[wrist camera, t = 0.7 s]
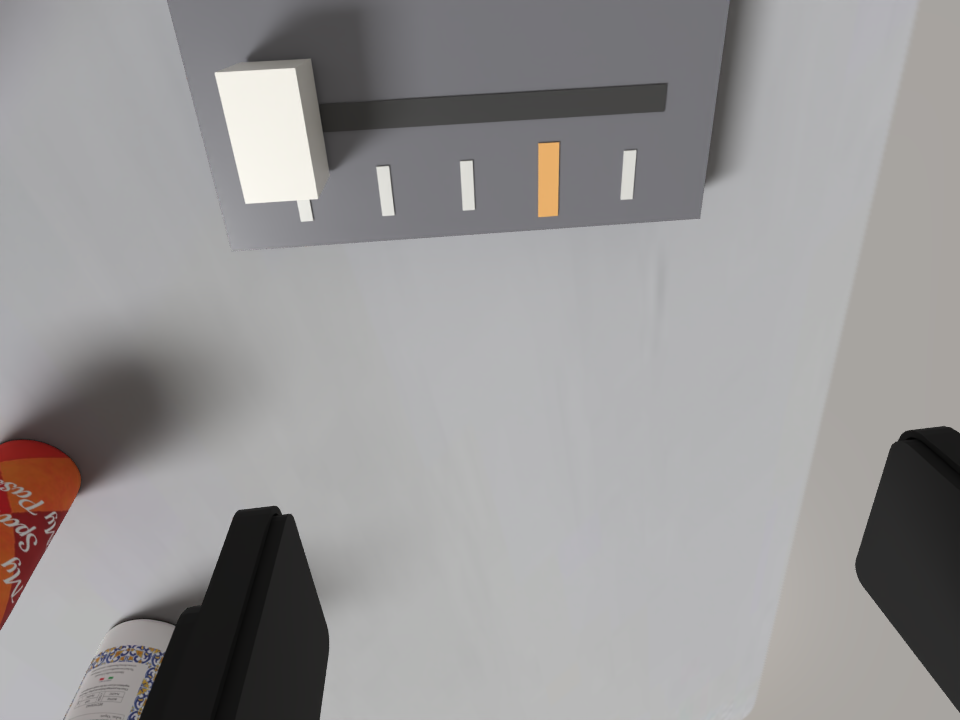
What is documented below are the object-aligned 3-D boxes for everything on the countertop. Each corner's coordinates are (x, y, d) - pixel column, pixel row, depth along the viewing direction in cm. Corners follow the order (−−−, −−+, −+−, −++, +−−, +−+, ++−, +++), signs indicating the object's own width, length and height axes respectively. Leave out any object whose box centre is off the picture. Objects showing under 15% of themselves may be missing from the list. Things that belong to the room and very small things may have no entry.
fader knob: (240, 62, 27) (214, 72, 24) (310, 58, 27) (295, 68, 24) (265, 179, 30) (245, 203, 26) (329, 175, 30) (318, 199, 26)
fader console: (183, -29, 28) (158, -31, 25) (709, -54, 29) (738, -59, 27) (245, 231, 34) (230, 252, 31) (679, 202, 35) (700, 219, 33)
